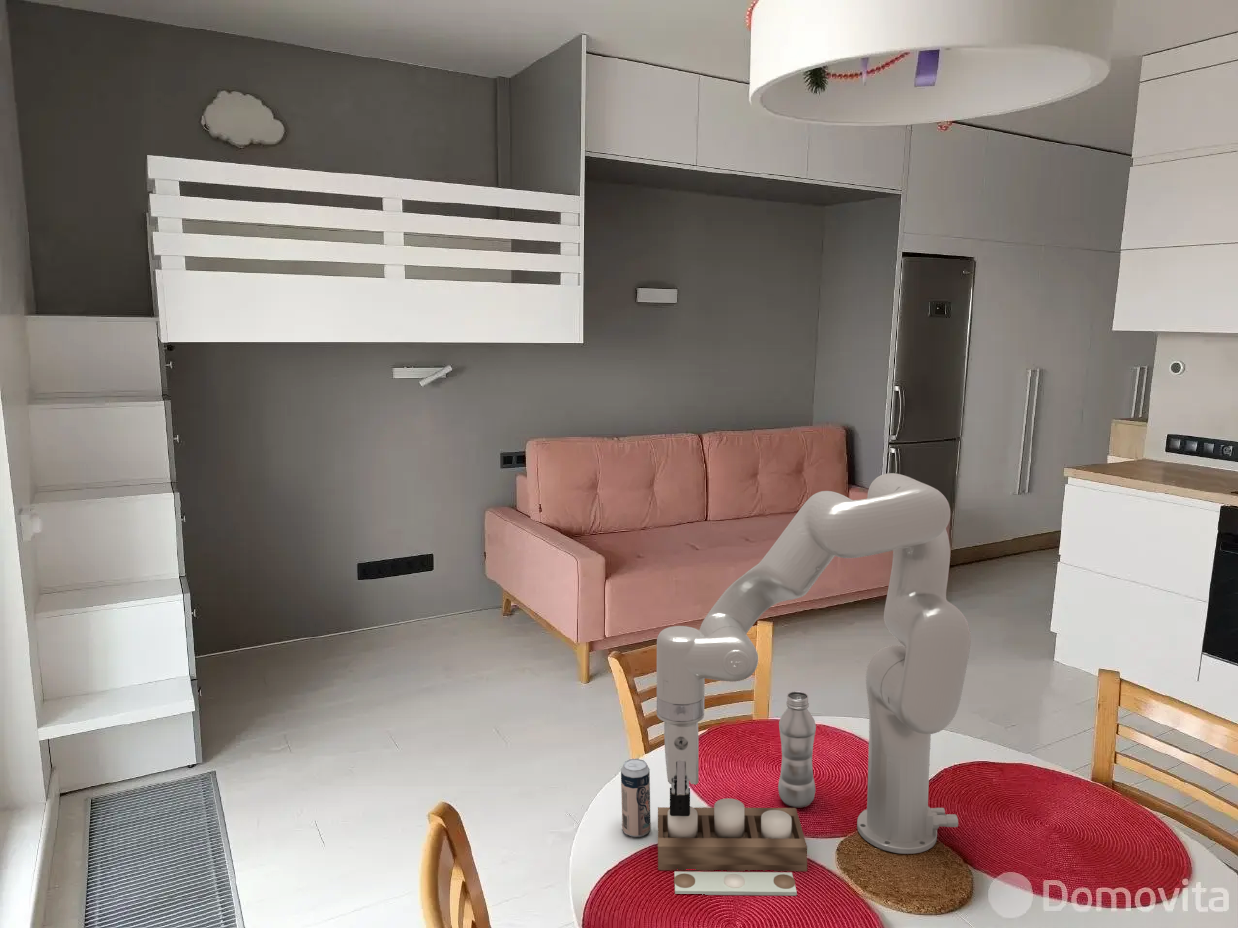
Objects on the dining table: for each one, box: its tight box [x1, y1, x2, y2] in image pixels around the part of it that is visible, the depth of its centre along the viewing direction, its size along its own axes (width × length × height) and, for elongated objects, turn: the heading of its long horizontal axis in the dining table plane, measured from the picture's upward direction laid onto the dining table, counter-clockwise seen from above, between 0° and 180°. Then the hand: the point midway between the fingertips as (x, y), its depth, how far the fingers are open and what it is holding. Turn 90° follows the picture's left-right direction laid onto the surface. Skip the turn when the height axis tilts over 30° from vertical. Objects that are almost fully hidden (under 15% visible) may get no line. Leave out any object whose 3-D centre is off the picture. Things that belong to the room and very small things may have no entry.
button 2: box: [761, 810, 792, 839], centre depth 137 cm, size 5×5×4 cm
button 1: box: [668, 805, 698, 838], centre depth 138 cm, size 5×5×4 cm
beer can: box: [620, 758, 652, 838], centre depth 143 cm, size 5×5×12 cm
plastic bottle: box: [777, 690, 817, 809], centre depth 150 cm, size 6×7×20 cm
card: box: [673, 870, 798, 897], centre depth 129 cm, size 18×5×1 cm, turn 87°
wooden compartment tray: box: [657, 806, 808, 872], centre depth 138 cm, size 23×11×4 cm, turn 87°
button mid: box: [713, 797, 745, 838], centre depth 137 cm, size 5×5×4 cm
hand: (679, 812), depth 137 cm, fingers closed
